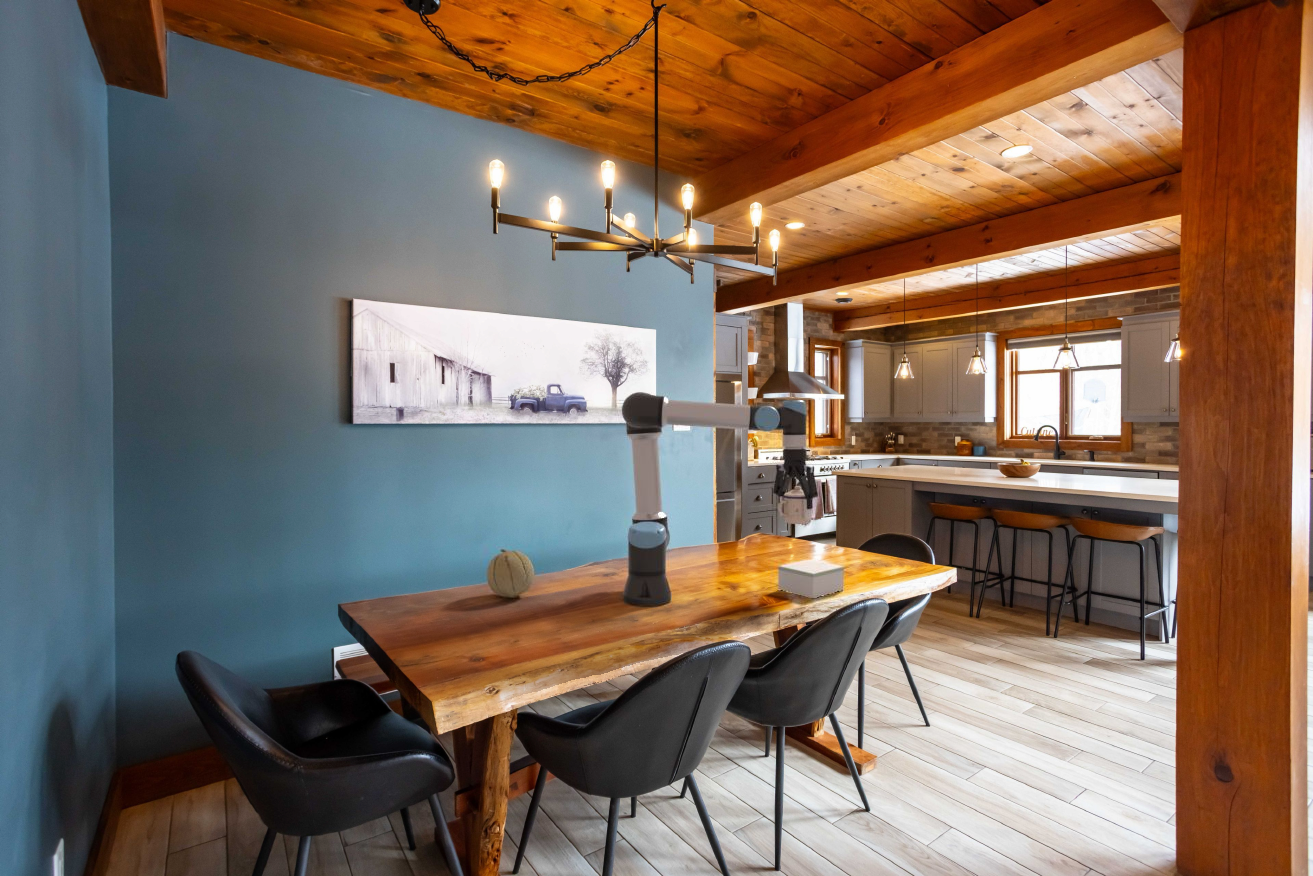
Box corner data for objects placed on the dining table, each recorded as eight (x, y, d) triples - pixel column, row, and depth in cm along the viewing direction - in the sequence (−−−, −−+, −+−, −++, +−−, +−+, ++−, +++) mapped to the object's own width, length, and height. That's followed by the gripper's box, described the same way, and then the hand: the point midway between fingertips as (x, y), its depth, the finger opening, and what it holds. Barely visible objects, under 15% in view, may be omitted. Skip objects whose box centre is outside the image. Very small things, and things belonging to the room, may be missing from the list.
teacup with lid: (800, 519, 221) (800, 484, 221) (817, 523, 213) (817, 487, 213) (770, 521, 217) (770, 486, 216) (786, 525, 208) (786, 489, 208)
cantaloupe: (529, 603, 202) (529, 554, 201) (481, 603, 202) (481, 554, 201) (538, 590, 217) (538, 545, 216) (493, 590, 216) (492, 544, 216)
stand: (777, 590, 218) (778, 565, 218) (808, 582, 228) (808, 559, 228) (813, 599, 207) (813, 573, 207) (843, 590, 217) (844, 566, 217)
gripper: (829, 448, 208) (830, 519, 208) (776, 446, 225) (777, 513, 225) (814, 449, 203) (815, 522, 204) (761, 447, 220) (762, 515, 221)
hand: (795, 517), depth 215 cm, fingers closed on teacup with lid, 9 cm apart
